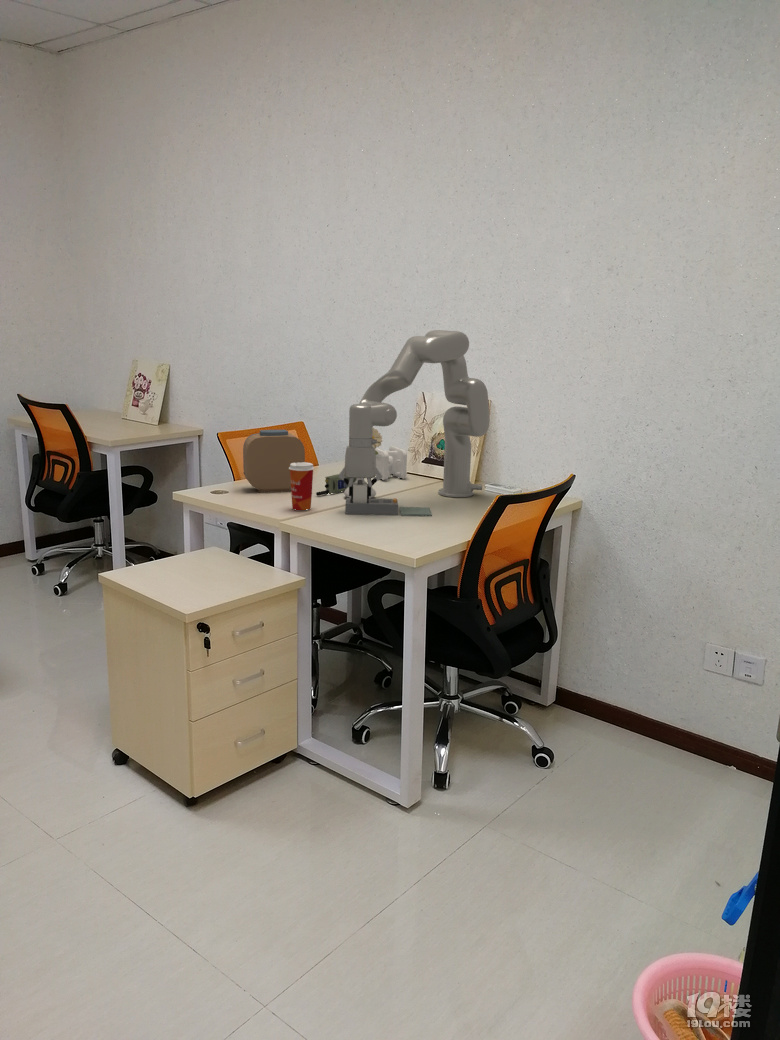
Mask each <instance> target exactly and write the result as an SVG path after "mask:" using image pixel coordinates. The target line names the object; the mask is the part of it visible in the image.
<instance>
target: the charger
mask: <svg viewBox="0 0 780 1040" xmlns="http://www.w3.org/2000/svg"><path fill="white" fill-rule="evenodd" d="M367 484H368V482H366V483H363V480H358V482H353V503H367Z"/></svg>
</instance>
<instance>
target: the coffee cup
mask: <svg viewBox="0 0 780 1040" xmlns="http://www.w3.org/2000/svg"><path fill="white" fill-rule="evenodd" d="M289 469H290V479H291V491H290V494H291V495H290V496H291V507H292V510H293V509H296V510H306V509H310V508H312V496H313V478H314V477H313V476H314V469H315V467H314V464H313V463H311V462H308V461H307V462H306V461H305V462H302V463H300V462H297V463H291V464H290V467H289ZM296 510H295V511H296ZM310 510H311V509H310Z"/></svg>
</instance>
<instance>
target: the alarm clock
mask: <svg viewBox="0 0 780 1040" xmlns="http://www.w3.org/2000/svg"><path fill="white" fill-rule="evenodd" d="M242 449H243V450H242V451H243V452H242V456H243V457H242V459H243V463H242V465H243V467H242V468H243V476H244V477H245V479H246V480H247V482H248V483H249V484H250V485H251V486H252V487H253V488H255V489H256V490H257V491H258V493H281V491H285V492H291V479H290V469H289V467H290V464H291V463H297V462H300V463H302V462H306V458H305V457H306V452H305V451H306V449H305V446H304V443H303V442H302V440H301V439H299V438H298V437H297V436H295V435H294V434H292V433H289V431H288V430H287V429H260V430H259V433H252V434H250V435H249V436H247V437H246V438H245V440H244V442H243V447H242Z"/></svg>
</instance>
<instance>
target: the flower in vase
mask: <svg viewBox="0 0 780 1040" xmlns="http://www.w3.org/2000/svg"><path fill="white" fill-rule="evenodd" d="M372 438H373V439H375V440H377V444H373V445H372V446H373V447H375V448H379V447H381V446H382V442H383V436H382V435H381V432H379V430H378V429H377V428H375V427H373V436H372ZM375 454H376V455H377V454H379V453H378V452H377V451H376V450H375ZM358 480H363V483H367V481H365V478H357V479H356V481H355V482H358ZM343 495H344V497H346V498H351V496H349V487H348V488H347V489H346V490H345V491H344V492H343ZM376 495H377V491H376V490H375V489H374V488H373V486H372V487H371V496H369V498H370V499H373V498H374V497H376Z"/></svg>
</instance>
